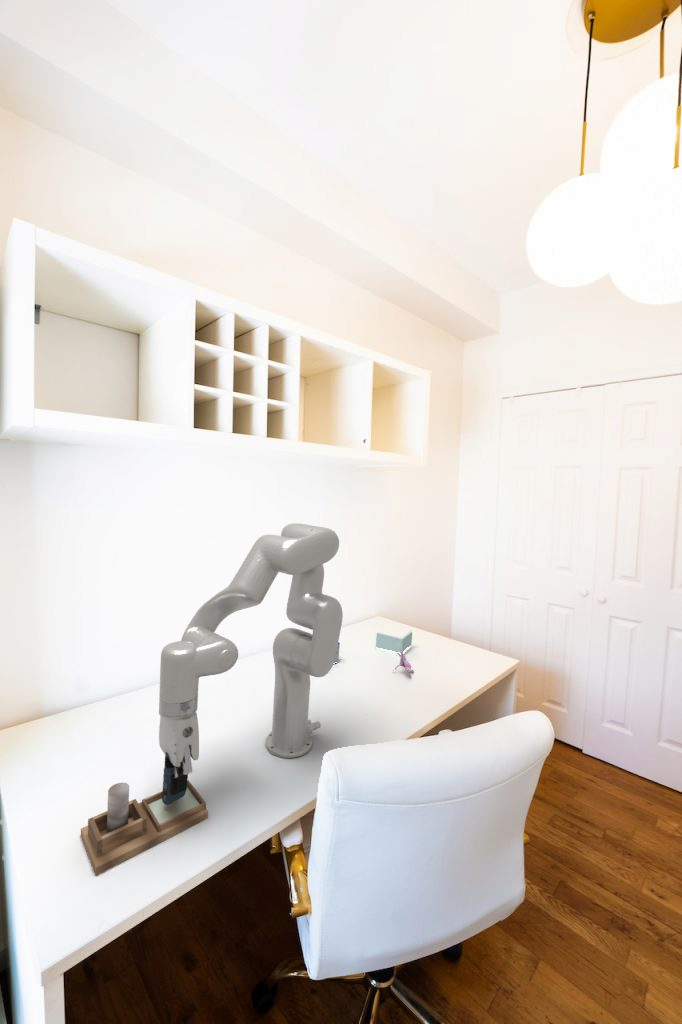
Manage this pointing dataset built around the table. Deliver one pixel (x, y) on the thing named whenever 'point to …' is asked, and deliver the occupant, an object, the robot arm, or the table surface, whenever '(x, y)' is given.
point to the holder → (137, 825)
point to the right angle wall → (393, 642)
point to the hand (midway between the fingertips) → (175, 786)
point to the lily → (404, 661)
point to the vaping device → (169, 783)
